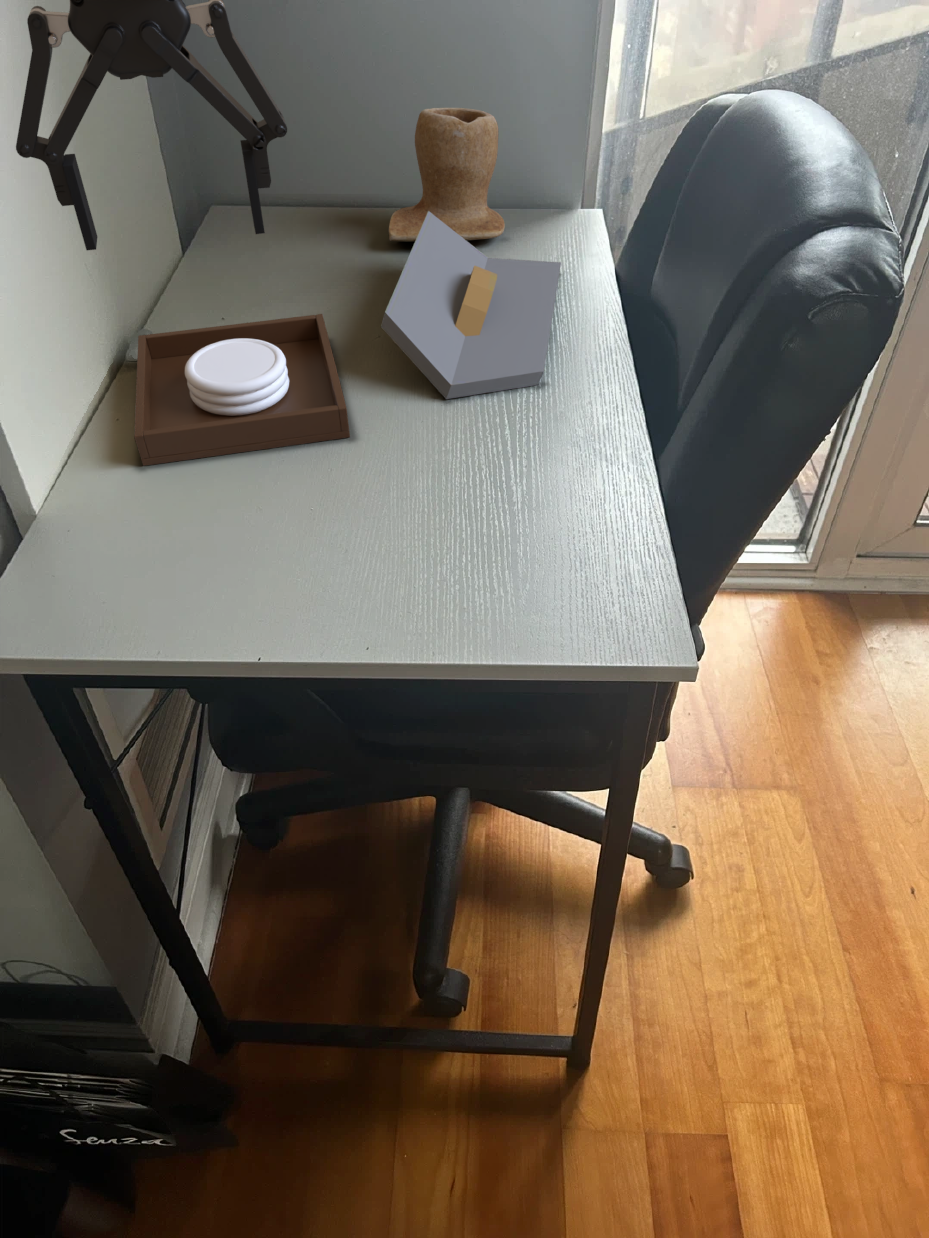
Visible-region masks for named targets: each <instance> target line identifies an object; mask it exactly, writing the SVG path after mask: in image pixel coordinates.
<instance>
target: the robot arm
mask: <svg viewBox="0 0 929 1238" xmlns="http://www.w3.org/2000/svg"><path fill="white" fill-rule="evenodd" d="M30 9H31V10H30V11H29V14H28V16H27V19H26V20H27V28H28V33H29V40H30V44H31V55H30V61H29V67H28V73H27V79H26V85H25V90H24V96H23V102H22V109H21V112H20V113H21V114H20V121H19V125H18V131H17V137H16V144H15V151H16V153H17V154H18V155H19V156H20V157H22V158H24V159H28V158H33V159H36V160H40V161H42V162H43V163H44V164H45V165H46V166H47V169H48V172H49V175H50V179H51V182H52V186H53V189H54V192H55V196H56V199H57V201H58V203H60V205H61V206H62V207H68V206H73V208H74V211H75V215H76V219H77V222H78V226H79V230H80V232H81V236H82V239H83V243H84V246H85V250H86V251H95V250H97V246H98V233H97V230H96V226H95V222H94V218H93V215H92V212H91V208H90V204H89V201H88V196H87V193H86V190H85V186H84V182H83V179H82V175H81V171H80V168H79V164H78V160H77V157H76V153H67V154H66V151H67V149H68V147H69V145H70V143H71V141H72V140H73V137H74V136H75V133H76V132H77V130H78V127H79V126H80V124H81V122H82V120H83V118H84V116H85V114H86V112H87V110H88V108H89V106H90V104H91V103H92V100H93V99H94V96H95V94H96V92H97V91H98V89H99V88H100V86H101V84H102V82H103V80H104V79H105V77H106V75H107V72H108V74H110V75H111V76H114V77H116V78H119V80H121V81H125V80H132V79H135V78H138V77H140V76H144V77H148V78H163V77H164V75H166V74H168V73H169V72H170V71H171V70H173V71H174V72H175V73H176V74H177V75H178V76H179V77H181V78H182V79H183V81H185V82H186V83H188V84H189V85H190V86H191V87H192V88H193V89H194V90H195V91H196V92H197V93H198V94H200V96H202V97H203V99H204V100H206V101H207V102H208V104H210V105H211V106H212V108H214V110H216V112H218V114H220V116H222V117H223V118H224V119H225V120H226V121H227V122H228V123H229V124H230V125H231V126H232V128H234V129H235V130H236V131H237V132H238V133H239V134H240V135H241V136H242V137H243V138H244V139H240V146H241V153H242V160H243V166H244V173H245V179H246V184H247V191H248V198H249V204H250V211H251V217H252V222H253V227H254V232H255V235H261V234H266V232H265V231H266V230H265V226H264V219H263V213H262V205H261V199H260V192H259V190H260V189H269V188H270V187H271V185H272V184H271V183H272V177H271V170H270V164H269V163H270V162H269V155H268V146H269V143H270V142H272V141H273V140H275V139H277V138H284V137H285V136H286V135H287V134H288V126H287V122H286V120H285V117H284V115H283V113H282V111H281V110H280V108H279V107H278V105H277V103H276V102H275V100H274V99H273V97H272V96H271V95H272V94H270V91H269V90H268V89H267V87H266V86H265V83H264V81H262V79H261V77H260V76H259V74H258V72H257V70H256V69H255V67H254V65H253V64H252V62H251V61H250V59H249V58H248V56H247V54H246V53H245V50H244V49H243V48H242V46H241V44H240V43H239V41H238V39H237V38H236V36H235V34H234V32H233V31H232V29H231V26H230V22H229V17H228V13H227V9H226V5H225V2H224V1H223V0H208V1H206V2H200V3H194V4H190V5H186V4H185V2H184V0H69V10H68V12H63V11H51V10H50V11H49V10H48V11H47V10H46V8H44V7H43V6H40V5H35V6H33V7H32V8H30ZM192 25H195V26H196V25H197V26H198V27H199V28H200V29H201V30H202V33H203V34H204V36H205V37H207V38H210V39H212V38H215V40H216V42H217V45H218V46H219V49H220V51H221V52H222V54H223V56H224V57H225V59H226V60H227V62H228V64H229V65H230V67H231V68H232V70H233V72H234V73H235V75H236V77H237V78H238V80H239V81H240V82H241V84H242V86H243V87H244V89H245V91H246V92H247V94H248V95H249V98H250V99H251V100H252V102H253V104H254V106H255V107H256V108H257V110H258V112H259V113H260V115H261V116H262V118H263V119H262V120H260V121H258V120H256V119H255V118H254V117H253V116H252V115H251V114H250V113H249V112H248V110H247V109H245V107H244V106H242V105H241V104H240V102H239V101H237V99H236V98H234V97H233V95H232V94H231V93H229V91H228V90H227V89H225V87H224V86H222V85H221V83H220V82H218V80H217V79H216V78H215V77H214V76H213V75H212V74H211V73H210V72H208V70H207V69H206V68H205V67H204V66H203V65H202V64H201V63H200V62H199V61H198V60H197V58H196V57H195V56H194V54H192V52H191V51H189V49H188V48H186V47H185V45H184V44H185V40H186V38H187V36H188V34H189V32H190V30H191V26H192ZM69 32H70V33H71V35H72V36H73V37H74V38H75V39H76V40H77V41H78V42H79V43H80V45H82V47H84V49H85V50H86V51H87V52H88V53H89V56H88V57H87V60H86V61H85V63H84V66H83V68H82V71H81V72H80V74H79V77H78V78H77V81H76V83H75V85H74V87H73V88H72V90H71V93H70V95H69V96H68V98H67V100H66V103H65V104H64V106H63V109H62V110H61V113H60V115H59V116H58V119H57V120H56V122H55V125H54V126H53V128H52V130H51V132H50V134H49V136H48V138H46V137H44V136H40V135H38V134H39V129H40V122H41V117H42V112H43V108H44V107H43V106H44V101H45V95H46V89H47V84H48V78H49V73H50V67H51V64H52V63H51V62H52V56H53V48H55V49H56V48H58V47H60V46H61V44H62V42H63V36H64V35H65V33H69Z"/></svg>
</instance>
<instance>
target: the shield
mask: <svg viewBox="0 0 929 1238" xmlns="http://www.w3.org/2000/svg"><path fill="white" fill-rule="evenodd" d="M561 265H562V262H561V261H545V260H528V259H514V258H498V257H497V258H496V257H489V256H487V255H486V254H484V253H483V252H481V251H480V250H479V249H478V248H476V247H475V246H474V245H473V244H472V243H470V242H469V241H468V240H465V239H464V238H462V237H461V236H460V235H458V234H457V233H456V232H455V231H453V230H452V229H451V228H450V227H448V226H447V225H446V224H444V223H443V222H442V221H441V220H439V219H438V218H437V217H436V216H434V215H433V214H432V213H431V212H429V211H428V213H427V215H426V217H425V220H424V222H423V224H422V227H421V229H420V231H419V234H418V236H417V238H416V241H415V242H414V243H413V246H412V248H411V250H410V253H409V254H408V257H407V260H406V262H405V264H404V266H403V268H402V272H401V273H400V276H399V278H398V281H397V283H396V285H395V287H394V290H393V293H392V295H391V297H390V299H389V301H388V303H387V306H386V308H385V311H384V314H383V318H382V322H381V324H380V328H381V329H382V331H384V332H385V334H386V335H387V336H388V337H389V338H390V339H391V340H392V341H393V342H394V343H395V344H396V345H397V347H398V348H399V349H400V350H401V351H402V352H403V353H404V354H405V355H406V357H407V358H408V359H409V360H410V361H411V362H412V363H413V364H414V365H415V367H417V369H418V370H419V371H420V372H421V373H422V374H423V375H424V376H425V377H426V379H427V380H428V381H429V382H430V383H431V384H432V385H433V387H434V388H435V389H437V391H438V392H439V393H440V394H441V395H442V396H443V398H444V399H445V400H450V399H455V398H456V399H457V398H462V397H463V398H464V397H468V396H469V397H470V396H475V395H481V394H482V395H483V394H489V393H495V392H502V391H508V390H513V389H520V388H527V387H533V386H538V385H539V384H540V381H541V379H542V377H543V374H544V372H545V367H546V361H547V355H548V348H549V342H550V336H551V329H552V322H553V317H554V310H555V304H556V297H557V292H558V285H559V278H560V272H561Z"/></svg>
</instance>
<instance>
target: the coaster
mask: <svg viewBox="0 0 929 1238" xmlns="http://www.w3.org/2000/svg"><path fill="white" fill-rule="evenodd" d="M185 377H186V379H187V385H188V388H189V390H190V397H191V399H192V400H193V402H194V403H195V404H196V405H197V406H198V407H199V408H201V409H203V410H205V411H208V412H210V413H213V414H218V415H226V416H238V415H247V414H252V413H256V412H259V411H262V410H265V409H267V408H269V407H271V406H273V405H274V404H276V403H277V402H278V401H280V400H281V399H282V398H283V397H284V395H285V394H286V393H287V391H288V388H289V377H288V370H287V367H286V358H285V356H284V354H283V352H282V351H281V350H280V349H279V348H278V347H276V346H275V345H273V344H271V343H269V342H266V341H262V340H257V339H248V338H239V339H229V340H223V341H219V342H216V343H213V344H210V345H208V346H205V347H203V348H201V349H200V350H198V351H197V352H196V353H194V354H193V355H192V356H191V357H190V359H189V360H188V361H187V363H186V366H185Z"/></svg>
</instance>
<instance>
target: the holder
mask: <svg viewBox="0 0 929 1238" xmlns="http://www.w3.org/2000/svg"><path fill="white" fill-rule="evenodd" d="M239 338H248V339H257V340H262V341H266V342H269V343H271V344H273V345H275V346H276V347H278V348H279V349H280V350H281V351H282V352H283V354H284V356H285V358H286V367H287V370H288V377H289V388H288V391H287V393H286V394H285V395H284V397H283V398H282V399H281V400H280V401H278V402H277V403H276V404H274V405H273V406H271V407H269V408H267V409H265V410H262V411H259V412H256V413H252V414H247V415H238V416H226V415H218V414H213V413H210V412H208V411H205V410H203V409H201V408H199V407H198V406H197V405H196V404H195V403H194V402H193V400H192V399H191V397H190V390H189V388H188V385H187V379H186V377H185V366H186V363H187V361H188V360H189V359H190V357H191V356H192V355H193V354H194V353H196V352H197V351H198V350H200V349H201V348H203V347H205V346H208V345H210V344H213V343H216V342H219V341H223V340H229V339H239ZM333 353H334V352H333V350H332V346H331V342H330V338H329V334H328V330H327V326H326V322H325V317H324V315H323V313H319V314H318V313H317V314H310V315H301V316H292V317H284V318H277V319H268V320H267V319H266V320H259V321H251V322H243V323H234V324H226V325H225V324H224V325H217V326H209V327H201V328H192V329H183V330H174V331H167V332H158V333H150V334H149V333H148V334H141V335H140V334H139V335H138V336H137V358H136V381H135V383H136V384H135V406H134V407H135V408H134V409H135V410H134V411H135V412H134V434H133V437H134V441H135V444H136V448H137V450H138V454H139V457H140V461H141V463H142V466H144V467H147V466H152V465H153V466H154V465H160V464H167V463H174V462H181V461H189V460H195V459H204V458H211V457H217V456H225V455H232V454H240V453H246V452H248V453H249V452H253V451H261V450H268V449H275V448H282V447H283V448H284V447H289V446H297V445H298V446H299V445H304V444H312V443H320V442H326V441H334V440H340V439H348V438H350V437H351V433H350V424H349V416H348V408H347V405H346V404H347V403H346V401H345V396H344V393H343V389H342V385H341V381H340V377H339V374H338V373H339V372H338V370H337V365H336V361H335V358H334V354H333Z"/></svg>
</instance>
